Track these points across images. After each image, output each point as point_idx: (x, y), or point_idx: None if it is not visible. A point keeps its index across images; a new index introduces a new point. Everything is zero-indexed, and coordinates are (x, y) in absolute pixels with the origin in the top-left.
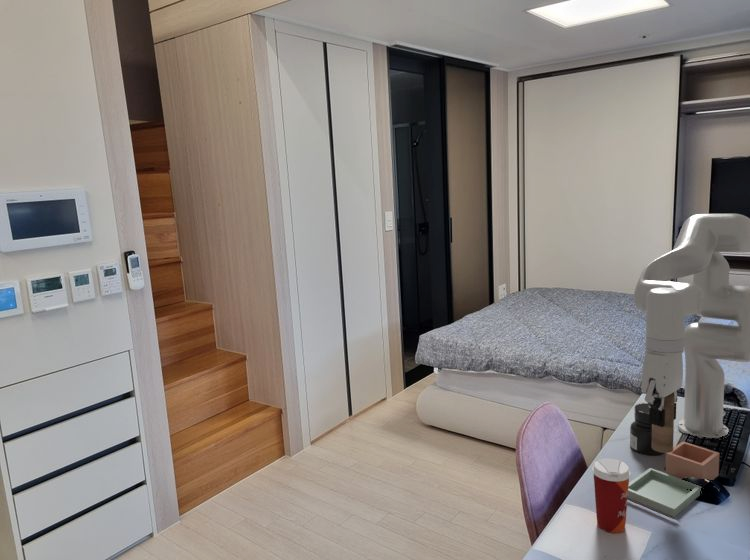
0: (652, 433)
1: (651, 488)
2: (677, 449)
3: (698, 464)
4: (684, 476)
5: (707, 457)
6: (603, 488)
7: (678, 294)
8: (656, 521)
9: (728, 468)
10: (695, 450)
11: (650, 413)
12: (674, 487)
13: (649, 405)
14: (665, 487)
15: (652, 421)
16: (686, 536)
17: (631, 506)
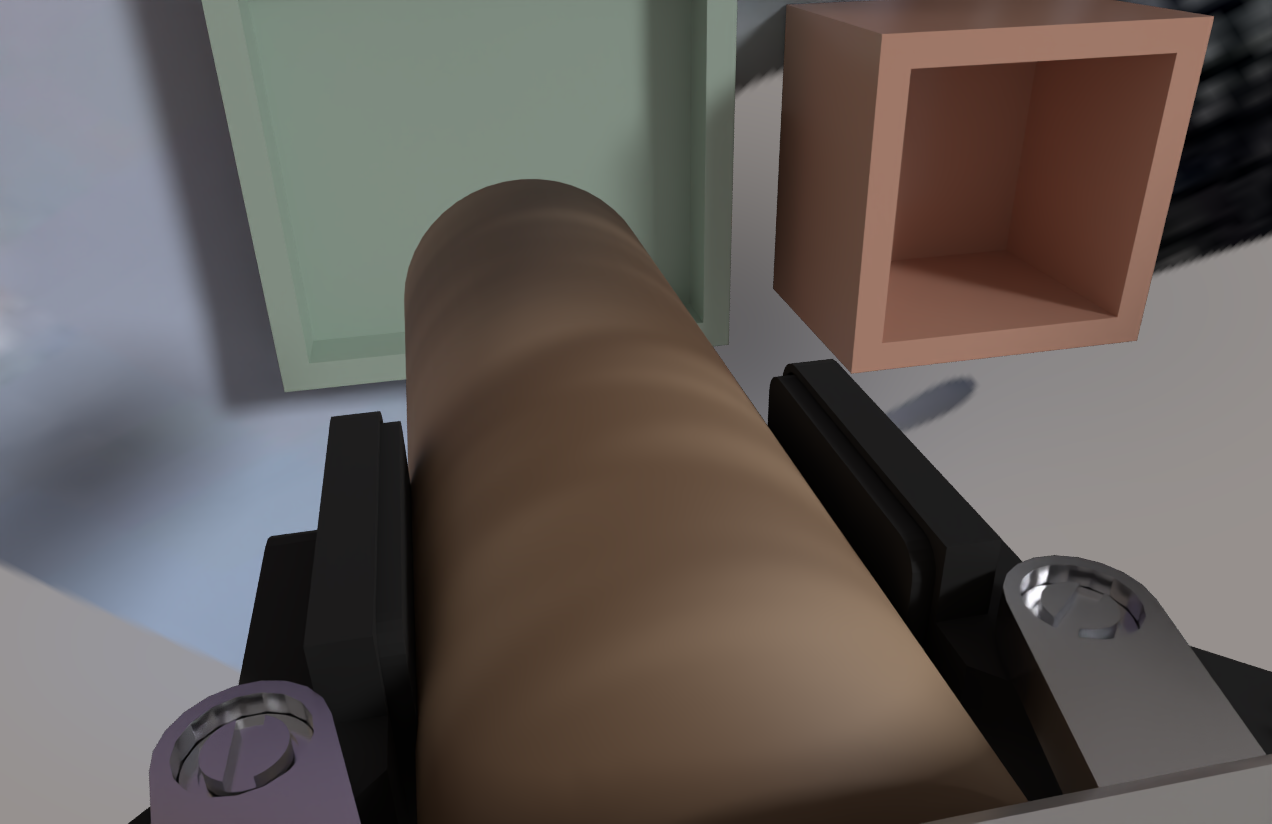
0: (439, 306)
1: (499, 52)
2: (1035, 58)
3: (853, 335)
4: (803, 179)
5: (1088, 246)
6: None
7: None
8: (158, 299)
9: (1173, 244)
10: (1128, 154)
11: (323, 544)
12: (650, 168)
13: (155, 789)
14: (600, 121)
15: (278, 539)
16: (189, 494)
17: (155, 61)
